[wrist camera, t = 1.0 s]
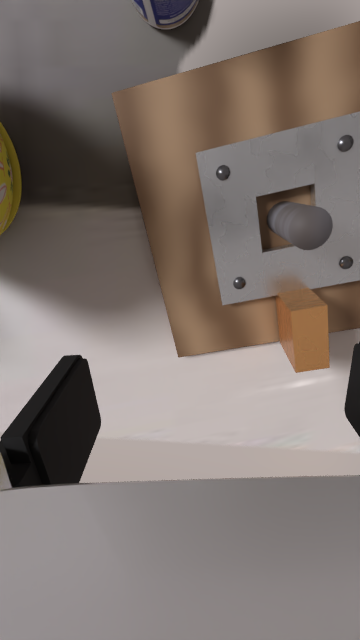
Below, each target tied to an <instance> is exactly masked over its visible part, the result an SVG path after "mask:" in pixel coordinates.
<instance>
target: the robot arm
mask: <svg viewBox="0 0 360 640" xmlns="http://www.w3.org/2000/svg"><path fill="white" fill-rule="evenodd" d="M345 415H346V417H347V419H348V421H349V422H350V424H351V425H352V426H353V428H354V429H355V431H356V432H357V434H358V435H359V437H360V342H359V344H356V345H355V346H354V351H353V357H352V363H351V370H350V376H349V383H348V389H347V395H346V402H345ZM100 426H101V417H100V413H99V409H98V404H97V400H96V396H95V391H94V387H93V382H92V378H91V374H90V369H89V365H88V361H87V359H83V358H82V356H81V355H70V356H63V357H62V358H61V360H60V361H59V362H58V364H57V365H56V366H55V368H54V369H53V370H52V371H51V373H50V374H49V375H48V377H47V378H46V379H45V380H44V382H43V383H42V384H41V386H40V387H39V388H38V390H37V391H36V392H35V393H34V395H33V396H32V397H31V399H30V400H29V401H28V403H27V404H26V405H25V406H24V408H23V409H22V410H21V412H20V413H19V414H18V416H17V417H16V418H15V419H14V421H13V422H12V423H11V425H10V426H9V427H8V428H7V430H6V431H5V432H4V434H3V435H2V436H1V441H0V640H360V475H344V476H299V477H265V478H264V477H261V478H225V479H193V480H192V479H191V480H161V481H133V482H102V483H79V481H80V479H81V476H82V474H83V471H84V468H85V466H86V463H87V460H88V458H89V455H90V453H91V450H92V448H93V445H94V442H95V440H96V437H97V435H98V432H99V429H100Z"/></svg>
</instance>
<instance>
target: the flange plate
mask: <svg viewBox="0 0 360 640" xmlns="http://www.w3.org/2000/svg"><path fill="white" fill-rule="evenodd" d="M196 159H197V164H198V170H199V176H200V181H201V187H202V193H203V198H204V204H205V210H206V216H207V221H208V227H209V233H210V238H211V244H212V250H213V255H214V261H215V267H216V272H217V278H218V284H219V289H220V295H221V301H222V305H227V304H232V303H238V302H243V301H249V300H254V299H260V298H265V297H271V296H275V299H276V309H277V319H278V328H279V338H280V343H281V345H282V347H283V349H284V351H285V353H286V355H287V357H288V359H289V361H290V363H291V364H292V366H293V368H294V370H295V372H296V373H297V372H303V371H310V370H317V369H324V368H330V366H329V336H328V305H327V304H326V303H325V302H323V301H322V300H321V299H320V298H319V297H318V296H317V295H316V294H315V293H314V292H313V291H312V290H311V289H314V288H320V287H325V286H331V285H336V284H342V283H347V282H353V281H358V280H360V112H356V113H352V114H348V115H344V116H340V117H336V118H332V119H328V120H324V121H320V122H316V123H312V124H308V125H304V126H300V127H296V128H292V129H288V130H284V131H280V132H276V133H272V134H268V135H265V136H261V137H257V138H253V139H249V140H245V141H241V142H237V143H233V144H229V145H225V146H221V147H217V148H213V149H209V150H205V151H201V152H197V153H196ZM306 185H310V193H311V206H316V207H321V208H323V209H325V210H326V211H327V212H328V213H329V214H330V216H331V218H332V221H333V228H332V232H331V235H330V237H329V238H328V240H327V241H326V242H325V243H324V244H323V245H322V246H320V247H318V248H316V249H313V250H302V249H300V248H298V247H296V246H294V245H293V244H288V245H284V246H279V247H274V248H269V249H264V250H262V246H261V238H260V229H259V220H258V211H257V202H256V197H258V196H262V195H266V194H271V193H275V192H280V191H284V190H288V189H293V188H297V187H302V186H306Z"/></svg>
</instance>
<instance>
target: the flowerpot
mask: <svg viewBox="0 0 360 640" xmlns="http://www.w3.org/2000/svg"><path fill="white" fill-rule="evenodd" d="M21 190H22V181H21V171H20V166H19V161H18V158H17V154H16V151H15V149H14V146H13V144H12V141H11V139H10V137H9V135H8V134H7V132H6V130H5V128H4V127H3V125H2V124H1V122H0V235H1V234H2V233H3V232H4V231H5V230H6V229H7V228H8V227H9V225H10V224H11V223H12V221H13V219H14V217H15V215H16V213H17V210H18V207H19V204H20V199H21Z"/></svg>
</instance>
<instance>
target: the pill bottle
mask: <svg viewBox="0 0 360 640" xmlns="http://www.w3.org/2000/svg"><path fill="white" fill-rule="evenodd" d="M132 2H133V4H134V6H135V8H136V10H137V12H138V13H139V15H140V16H141V17H142V18H143V19H144V20H145V21H146V22H147V23H148V24H150V25H151V26H153V27H156V28H159V29H172V28H176V27H178V26H180V25H181V24H183V23H184V22H185V21H186V20H187V19H188V18H189V17H190V16H191V15H192V13H193V12H194V10H195V8H196V6H197V4H198V2H199V0H132Z"/></svg>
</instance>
